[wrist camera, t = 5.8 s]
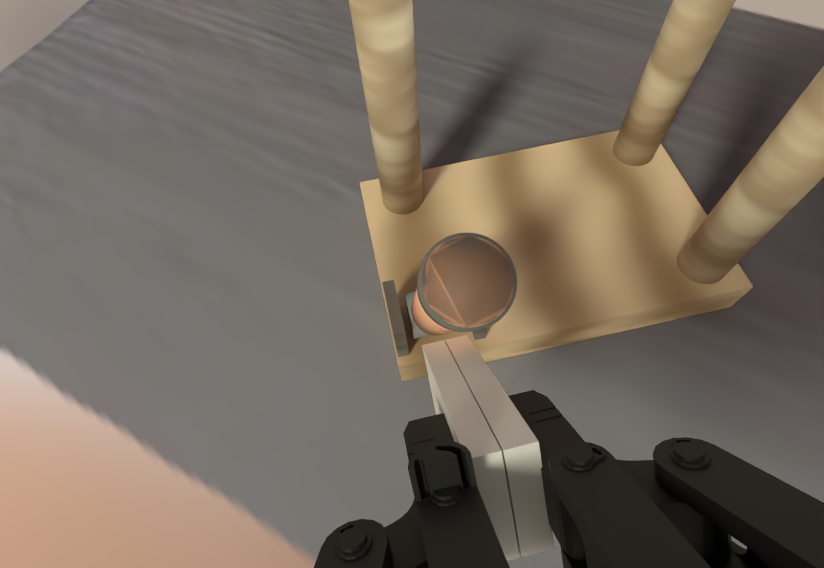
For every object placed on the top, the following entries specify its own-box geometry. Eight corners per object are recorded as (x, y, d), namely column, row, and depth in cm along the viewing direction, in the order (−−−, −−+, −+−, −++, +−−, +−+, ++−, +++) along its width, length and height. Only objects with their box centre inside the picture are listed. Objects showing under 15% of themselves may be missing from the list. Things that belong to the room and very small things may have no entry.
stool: (635, 150, 36) (760, -113, 22) (730, 307, 29) (993, 77, 15) (364, 206, 34) (311, -34, 20) (401, 381, 28) (360, 206, 14)
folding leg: (452, 282, 27) (503, 223, 14) (464, 331, 27) (527, 319, 14) (403, 292, 27) (408, 243, 14) (414, 342, 27) (430, 340, 14)
